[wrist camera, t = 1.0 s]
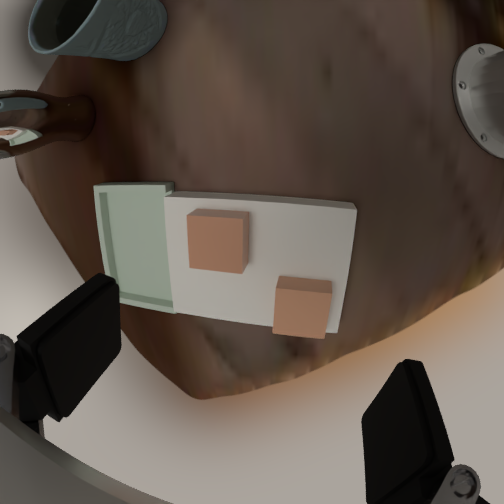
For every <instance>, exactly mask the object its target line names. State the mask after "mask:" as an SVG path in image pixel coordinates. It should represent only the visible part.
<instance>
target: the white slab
mask: <svg viewBox="0 0 504 504" xmlns="http://www.w3.org/2000/svg"><path fill="white" fill-rule="evenodd" d="M197 208H198V209H216V210H232V211H247V212H249V255H248V265H247V266H246V268H245V270H244V272H243V274H237V273H228V272H219V271H210V270H202V269H194V268H189V254H188V236H187V215H188V214H189V213H191V212H192V211H194V210H195V209H197ZM164 211H165V227H166V240H167V252H168V263H169V273H170V283H171V292H172V300H173V308H174V312H179V313H185V314H190V315H196V316H202V317H208V318H215V319H221V320H228V321H235V322H242V323H249V324H256V325H264V326H272V327H273V320H274V306H275V291H276V285H277V282H278V278H279V276H287V277H297V278H307V279H317V280H328V281H331V282H332V299H331V305H330V310H329V316H328V322H327V327H326V332H329V333H337V331H338V326H339V321H340V316H341V311H342V306H343V301H344V295H345V290H346V284H347V278H348V272H349V266H350V260H351V253H352V246H353V239H354V231H355V224H356V215H357V209H356V207H355V205H354V203H351V202H341V201H331V200H321V199H309V198H298V197H285V196H271V195H255V194H237V193H216V192H189V191H176V192H174V193H171V194H169V195H167V196H165V197H164Z"/></svg>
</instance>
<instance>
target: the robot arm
mask: <svg viewBox="0 0 504 504" xmlns="http://www.w3.org/2000/svg"><path fill="white" fill-rule="evenodd" d="M459 85H460V86H461V88H460V86H459ZM453 94H454V100H455V104H456V107H457V111H458V113H459V116H460V118H461V120H462V122H463V124H464V126H465V128H466V130H467V131H468V133H469V134H470V135H471V137H472V138H473V139H474V141H475V142H476V143H477V144H478V145H479V146H480V147H481V148H482V149H484V150H485V151H487V152H488V153H489V154H491V155H494V156H496V157H498V158H503V159H504V50H503V49H502V48H500V47H498V46H495V45H492V44H477V45H474V46H472V47H470V48H468V49H467V50H465V51H464V52H463V53H462V54H461V55H460V57H459V58H458V60H457V62H456V64H455V67H454V72H453ZM17 339H18V341H16V342H15V343H14V342H13V340H12V339H10V338H9V337H8V336H6V335H4V334H0V504H172V503H170V502H167V501H164V500H161V499H159V498H156V497H154V496H151V495H149V494H146V493H144V492H141V491H139V490H137V489H134V488H132V487H129V486H128V485H126V484H123V483H121V482H119V481H117V480H115V479H113V478H111V477H109V476H107V475H105V474H103V473H101V472H99V471H97V470H95V469H94V468H92V467H90V466H88V465H86V464H85V463H83V462H81V461H79V460H78V459H76V458H74V457H73V456H71V455H69V454H68V453H66V452H65V451H63V450H62V449H60V448H58V447H57V446H55V445H54V444H52V443H51V442H49V441H48V440H46V439H45V437H44V428H43V418H44V417H45V416H46V415H48V416H50V417H52V418H53V419H55V420H56V421H57V422H60V421H61V419H62V418H63V417H68V416H69V415H70V414H71V413H72V412H73V410H74V409H75V408H76V406H77V405H78V404H79V403H80V401H81V400H82V399H83V397H84V396H85V395H86V394H87V392H88V391H89V390H90V389H91V387H92V386H93V385H94V384H95V382H96V381H97V380H98V379H99V377H100V376H101V375H102V374H103V372H104V371H105V370H106V369H107V368H108V366H109V365H110V364H111V363H112V361H113V360H114V359H115V358H116V357H117V355H118V354H119V352H120V350H121V327H120V291H119V285H118V284H116V280H115V279H114V278H113V277H110V276H107V275H105V274H102V273H98V274H96V275H95V276H93V277H92V278H91V279H89V280H88V281H87V282H85V283H84V284H83V285H81V286H80V287H78V288H77V289H76V290H74V291H73V292H72V293H70V294H69V295H68V296H66V297H65V298H64V299H63V300H61V301H60V302H59V303H57V304H56V305H55V306H54V307H52V308H51V309H50V310H48V311H47V312H46V313H45V314H43V315H42V316H41V317H40V318H38V319H37V320H36V321H35V322H33V323H32V324H31V325H30V326H28V327H27V328H26V329H25V330H24V331H22V332H21V333H20V334H19V335H17ZM361 423H362V435H363V447H364V461H365V482H366V502H367V504H490V503H488V502H487V501H486V500H484V499H483V498H482V497H480V496H479V493H480V488H481V485H480V479H479V476H478V475H477V473H476V472H475V471H474V470H473V469H472V468H471V467H468V466H467V465H462V464H460V465H455V466H454V467H452V465H451V463H452V462H453V461H454V456H453V452H452V448H451V445H450V442H449V438H448V435H447V431H446V428H445V425H444V422H443V419H442V415H441V413H440V410H439V406H438V403H437V401H436V398H435V395H434V392H433V389H432V387H431V384H430V381H429V378H428V376H427V373H426V371H425V368H424V366H423V363H422V362H421V361H415V360H411V359H405V360H404V361H403V362H400V363H398V364H397V366H396V367H395V369H394V370H393V372H392V373H391V375H390V376H389V378H388V380H387V381H386V383H385V384H384V386H383V387H382V389H381V390H380V391H379V393H378V394H377V396H376V397H375V399H374V400H373V401H372V403H371V404H370V406H369V407H368V408H367V410H366V411H365V413H364V414H363V416H362V421H361Z"/></svg>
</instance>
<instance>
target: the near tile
mask: <svg viewBox="0 0 504 504" xmlns="http://www.w3.org/2000/svg"><path fill="white" fill-rule="evenodd" d="M187 236H188V254H189V268H194V269H202V270H210V271H219V272H228V273H237V274H243V272H244V270H245V268H246V266H247V265H248V255H249V212H247V211H232V210H216V209H198V208H197V209H195V210H194V211H192V212H191V213H189V214H188V215H187Z"/></svg>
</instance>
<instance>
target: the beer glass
mask: <svg viewBox="0 0 504 504" xmlns="http://www.w3.org/2000/svg"><path fill="white" fill-rule="evenodd" d="M94 121H95V108H94V105H93V102H92V101H91V99H90V98H89V97H87V96H85V95H75V96H70V97H57V96H52V95H49V94H45V93H41V92H37V91H30V90H5V91H0V159H3V158H9V157H14V156H18V155H21V154H24V153H27V152H30V151H33V150H35V149H37V148H40V147H42V146H45V145H47V144H50V143H52V142H56V141H71V142H78V141H81V140H83V139H85V138H86V137H87V136H88V134H89V133H90V132H91V130H92V127H93V125H94Z"/></svg>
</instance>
